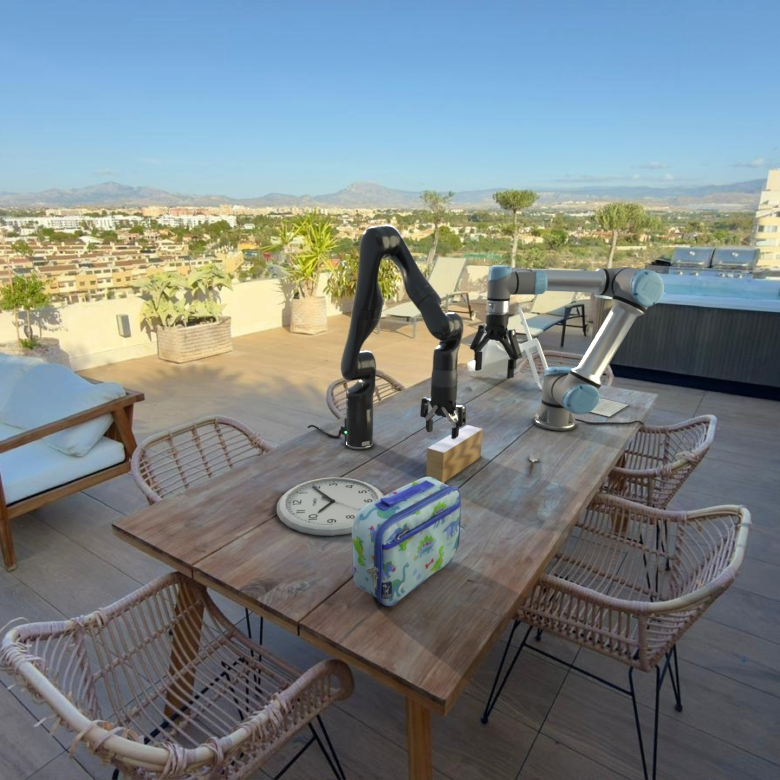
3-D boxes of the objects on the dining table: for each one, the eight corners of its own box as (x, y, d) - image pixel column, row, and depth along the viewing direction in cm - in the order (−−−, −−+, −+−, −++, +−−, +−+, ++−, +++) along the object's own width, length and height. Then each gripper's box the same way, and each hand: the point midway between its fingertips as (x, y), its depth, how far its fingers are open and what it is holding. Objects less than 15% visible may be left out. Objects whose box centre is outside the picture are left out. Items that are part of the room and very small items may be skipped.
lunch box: (381, 619, 101) (382, 525, 95) (345, 592, 109) (344, 503, 102) (464, 563, 119) (469, 480, 113) (428, 543, 126) (432, 464, 120)
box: (465, 452, 178) (467, 424, 175) (480, 456, 175) (482, 428, 172) (426, 478, 159) (427, 447, 156) (442, 483, 156) (443, 452, 153)
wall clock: (392, 527, 129) (268, 531, 127) (391, 533, 130) (269, 537, 127) (383, 473, 158) (282, 475, 155) (383, 478, 158) (282, 480, 156)
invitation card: (608, 416, 214) (573, 407, 224) (608, 416, 214) (573, 408, 224) (628, 404, 229) (594, 396, 238) (628, 405, 229) (594, 397, 238)
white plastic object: (487, 418, 267) (468, 395, 242) (469, 346, 289) (449, 318, 264) (558, 394, 255) (545, 368, 230) (533, 321, 277) (518, 289, 252)
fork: (525, 475, 162) (525, 469, 161) (530, 455, 176) (531, 449, 176) (534, 476, 161) (534, 470, 161) (538, 456, 175) (539, 450, 175)
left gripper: (416, 381, 152) (414, 433, 157) (459, 390, 144) (456, 444, 149) (430, 375, 158) (428, 426, 163) (472, 384, 150) (469, 436, 154)
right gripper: (461, 309, 182) (459, 368, 188) (522, 318, 164) (517, 383, 170) (475, 307, 186) (472, 365, 193) (536, 316, 169) (530, 379, 175)
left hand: (441, 434), depth 156 cm, fingers open, 8 cm apart
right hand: (493, 373), depth 182 cm, fingers open, 13 cm apart
